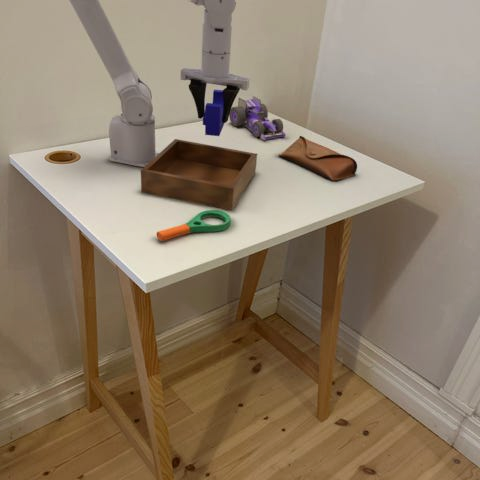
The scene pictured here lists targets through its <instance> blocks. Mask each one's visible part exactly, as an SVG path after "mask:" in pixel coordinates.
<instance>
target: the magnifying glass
mask: <svg viewBox="0 0 480 480" xmlns="http://www.w3.org/2000/svg"><path fill="white" fill-rule="evenodd" d="M207 217H213V218H214V217H215V218H219V219H221V220H223V221H224V222H222V223H220V224H211V223H206V222H204V221H202V219H204V218H207ZM230 226H231V216H230V214H228V213H227V212H225V211H223V210H218V209H207V210H203V211H200V212H198V213H197V214H196V215H195V216H194V217H192V218H191V219H190V220H188V222H186V223H183V224H180V225H176V226H173V227H169V228H166V229H162V230H158V231H156V233H155V234H156V237H157V239H158V240H159V241H161V242H163V241H167V240H170V239H174V238H177V237H180V236H183V235H186V234H190V233H191V234H192V233H209V232H222V231H224V230H227V229H228V228H229V227H230Z"/></svg>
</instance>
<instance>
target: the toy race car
mask: <svg viewBox="0 0 480 480" xmlns="http://www.w3.org/2000/svg"><path fill="white" fill-rule="evenodd" d="M237 104H238V105H237V106H232V107H231V110H230V114H229V121H230V123H231V125H232V126H233V127H240V126H244V125H245V128H246V129H248V130H249V131H250V132H251V133H252V135H253V137H255V138H260V139H261V140H262V141H265V142H266V140H269V139H276V138H281V137H282V138H286V132H284V123H283V121H282V119H280V118H275V119H272V120H270V119H268V118H269V117H268V116H269V112H268V107H267V106H266V104H265V103H262V101H261V99H260V98H258V97H256V96H254V95H253V96H252V98H250V99H243V98H241V97H238V102H237ZM265 133H271V134H266V135H265Z"/></svg>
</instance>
